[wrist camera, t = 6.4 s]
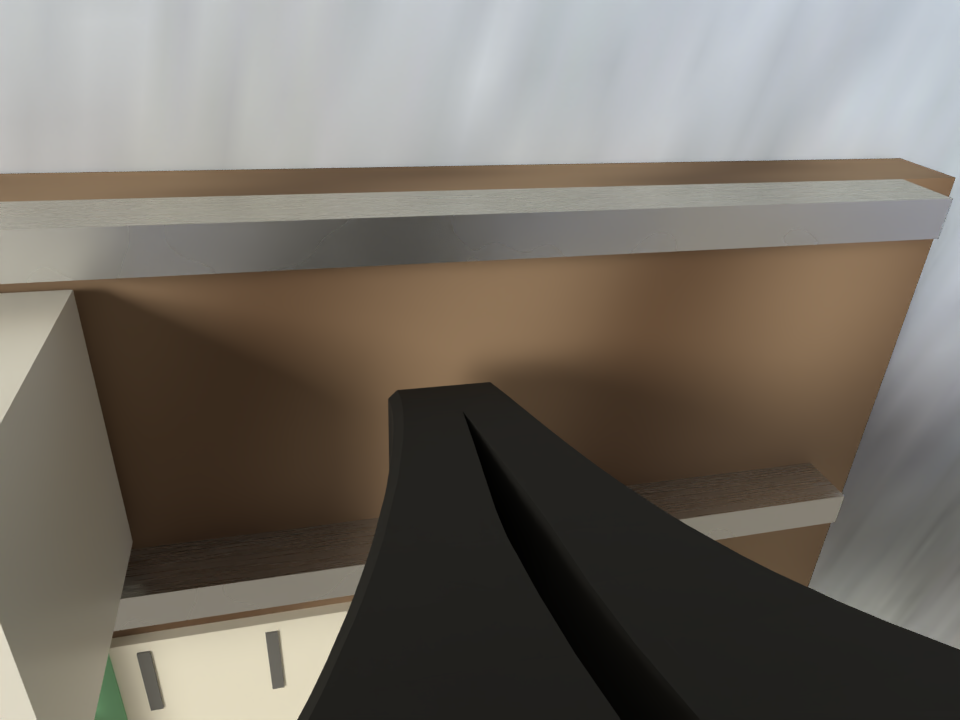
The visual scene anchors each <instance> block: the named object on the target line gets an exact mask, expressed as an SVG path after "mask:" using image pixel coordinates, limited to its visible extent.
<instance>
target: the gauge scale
mask: <svg viewBox="0 0 960 720" xmlns="http://www.w3.org/2000/svg"><path fill="white" fill-rule="evenodd" d="M351 602H352V601H351ZM351 602H344V603H338V604H331V605H325V606H318V607H312V608H305V609H299V610H292V611H286V612H279V613H273V614H266V615H260V616H253V617H247V618H240V619H234V620H227V621H220V622H214V623H207V624H201V625H194V626H188V627H181V628H175V629H168V630H162V631H155V632H149V633H142V634H136V635H129V636H123V637H116V638H112V640H111V645H110V649H109V654H108V659H107V663H106V668H105V672H104V677H103V682H102V686H101V691H100V695H99V700H98V705H97V709H96V714H95V718H94V720H297V719H298V717H299V715H300V713H301V712H302V710H303V708H304V706H305V704H306V702H307V700H308V699H309V696H310V694H311V692H312V690H313V688H314V686H315V684H316V682H317V680H318V678H319V676H320V674H321V672H322V669H323V667H324V665H325V663H326V661H327V659H328V656H329V654H330V652H331V649H332V647H333V645H334V642H335V640H336V638H337V635H338V633H339V631H340V629H341V626H342V624H343V622H344V619H345V617H346V615H347V612H348V610H349V607H350V605H351Z"/></svg>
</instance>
